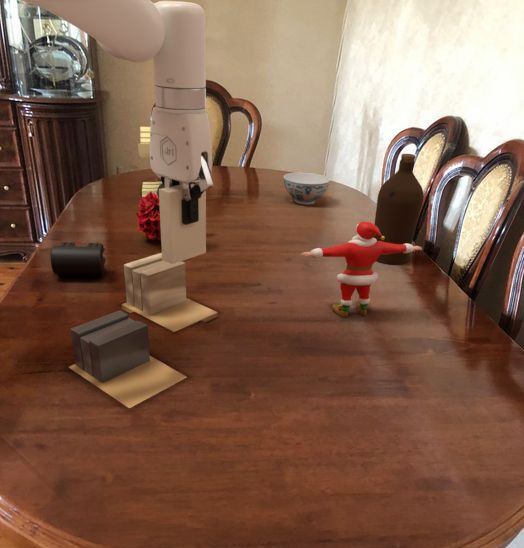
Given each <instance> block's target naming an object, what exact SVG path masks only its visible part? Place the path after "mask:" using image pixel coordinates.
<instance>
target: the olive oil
mask: <svg viewBox="0 0 524 548" xmlns="http://www.w3.org/2000/svg"><path fill="white" fill-rule="evenodd" d="M400 157H401V158H400V160H399V165H398V170H397V171H396V172H395V173H394V174H393V175H392V176H391V177H389V178H388V179H387V180H386V181H385V182H384V183H383V184H382V185H381V187H380V188H379V191H378V193H377V200H376V210H375V218H374V225H376V226H377V227H378V229H379V231H380V233H381V235H382V236H384V237H385V238H384V240H382V239H381V236H379V235H377V234H375V236H374V237H373V238H375V239H376V240H377V241H382V242H386V243H392V244H411V245H413V242H414V241H413V240H414V237H415V234H416V229H417V226H418V222H419V219H420V215H421V211H422V208H423V207H422V206H423V204H424V189H423V187H422V185H421V184H420V182H419V180H418V179H417V177H416V176H415V173H414V169H415V164H416V161H415V160H416V157H417V156H416V155H415V154H414V153H413V154H412V153H401V156H400ZM410 254H411V252H410V253H403V252H401V253H394V254H383V255H381V254H380V256H379V257H378V258H377V260H376V261H375V262H378V263H382V264H387V265H403V264H406V263H407V262H408V261H409V257H410Z"/></svg>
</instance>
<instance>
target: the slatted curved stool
mask: <svg viewBox="0 0 524 548" xmlns="http://www.w3.org/2000/svg"><path fill="white" fill-rule="evenodd" d="M150 128H151V126H140V127H139V129H140V133H139V134H140V136H139V137H140V141H139V143H137V151H138V152H137V153H138V156H139V158H140V159H150ZM160 184H162V182H161V181H142V184H141V186H142V187H141V196H142V197H145V196H146V195H147V194H148V193H149V192H150V191H151V192H152V193H155V194H156V195H157V189H158V187H159V186H160ZM182 184H183V182H182ZM142 197H141V198H142Z"/></svg>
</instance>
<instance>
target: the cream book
mask: <svg viewBox="0 0 524 548" xmlns="http://www.w3.org/2000/svg"><path fill="white" fill-rule="evenodd" d="M193 186H194V184H191V189H192V187H193ZM182 200H185V198H184V187H183V184H181V185H176V186H171V187H167V188H162V189H159V204H160V225H161V241H160V242H161V243H160V244H161V253H162V260H163V261H166V262H168V263H170V264H174V263H177V262H180V261H182V262H184V261H185V260H188V259H192V258H195V257H198V256H201V255H204V254H207V190H206V191H204V192H203V194H202V196H201V198H199V199H198V202H199V220H198V222H195V223H191V224H187V225H185V224H183V223H182Z"/></svg>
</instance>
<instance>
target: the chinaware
mask: <svg viewBox="0 0 524 548" xmlns="http://www.w3.org/2000/svg"><path fill="white" fill-rule="evenodd" d="M330 182H331V179H330V178H329V176H326V175H323V174H318V173H312V172H290V173H286V174H284V175H283V183H284V187H285V189H286V192H287V193H288V195H290V196H291V198H292V199H294V203H296V204H299V205H307V206H308V205H314V204H315V203H316V202H315V201H316V200H318V199H320V198H321V197H322V196H323V195H324V194H325V193H326V191H327V190H328V187H329V185H330Z"/></svg>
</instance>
